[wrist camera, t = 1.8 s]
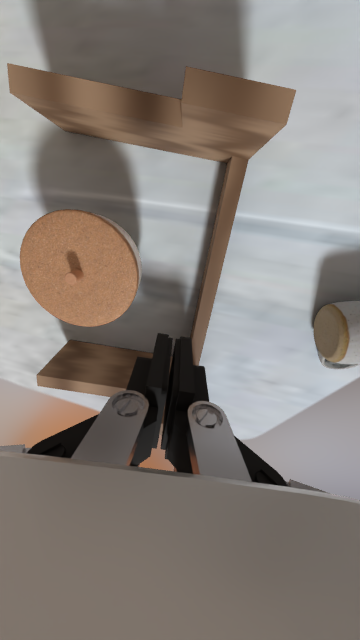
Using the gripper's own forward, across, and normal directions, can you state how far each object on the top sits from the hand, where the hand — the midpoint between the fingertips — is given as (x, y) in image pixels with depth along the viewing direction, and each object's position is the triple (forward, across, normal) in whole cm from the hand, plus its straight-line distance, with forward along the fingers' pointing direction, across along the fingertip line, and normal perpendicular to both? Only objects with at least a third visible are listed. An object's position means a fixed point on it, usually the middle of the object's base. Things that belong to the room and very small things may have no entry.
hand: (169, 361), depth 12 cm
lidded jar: (+19, +9, 0) cm, 21 cm away
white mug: (+19, -23, +3) cm, 30 cm away
